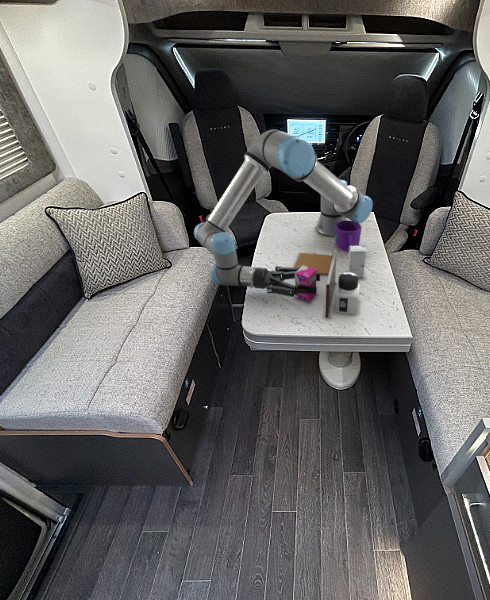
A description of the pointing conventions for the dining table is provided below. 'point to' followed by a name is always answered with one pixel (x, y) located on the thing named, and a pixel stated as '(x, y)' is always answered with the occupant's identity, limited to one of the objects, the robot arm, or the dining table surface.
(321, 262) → the cork mat
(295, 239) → the dining table surface
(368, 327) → the dining table surface
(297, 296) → the supplement box
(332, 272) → the backboard
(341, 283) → the container
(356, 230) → the mug
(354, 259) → the cosmetic box
